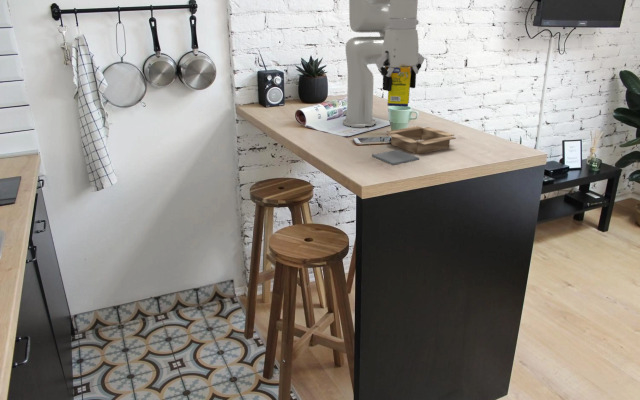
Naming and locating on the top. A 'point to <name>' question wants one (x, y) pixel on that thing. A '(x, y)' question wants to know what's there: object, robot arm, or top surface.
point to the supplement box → (400, 87)
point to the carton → (430, 136)
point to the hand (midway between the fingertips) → (399, 88)
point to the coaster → (395, 157)
